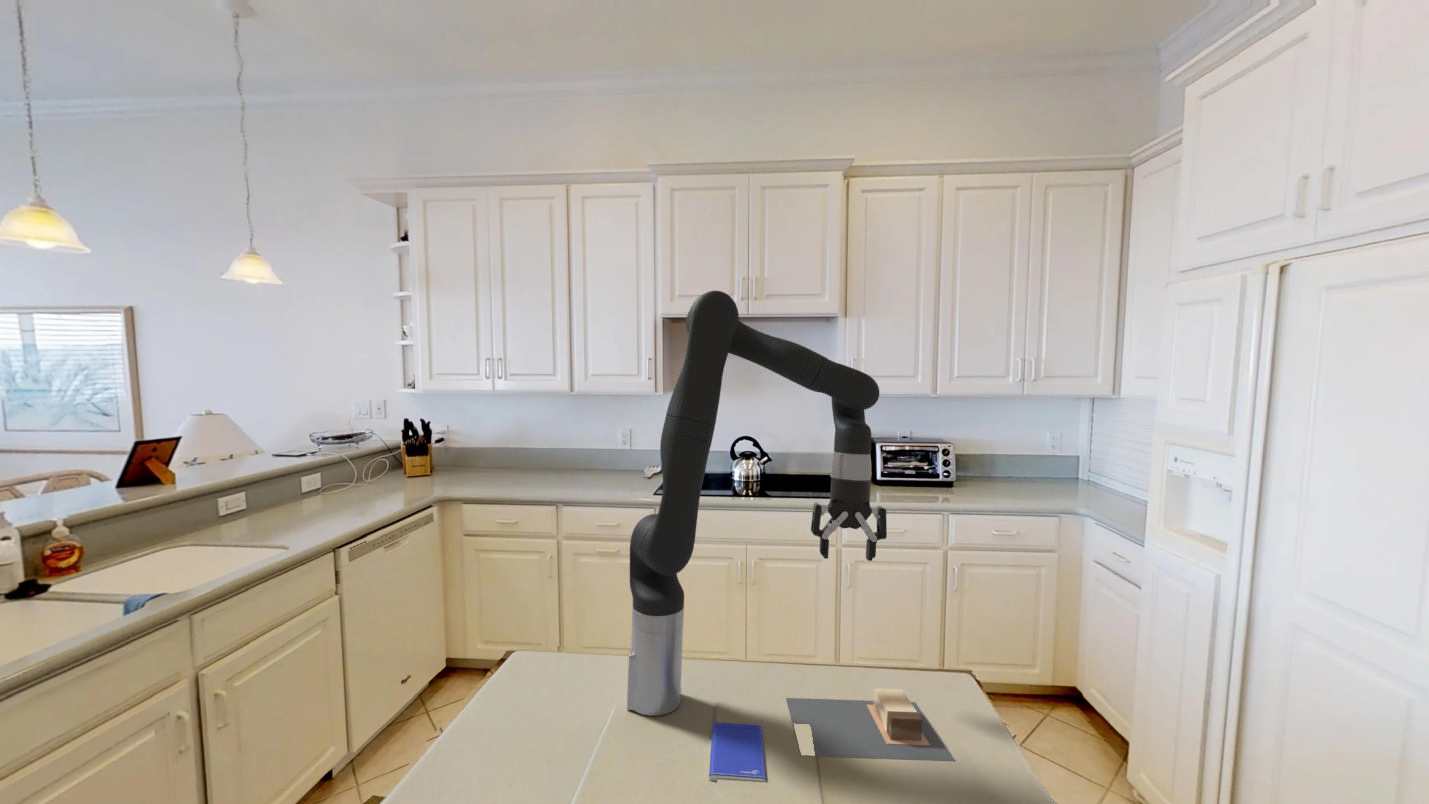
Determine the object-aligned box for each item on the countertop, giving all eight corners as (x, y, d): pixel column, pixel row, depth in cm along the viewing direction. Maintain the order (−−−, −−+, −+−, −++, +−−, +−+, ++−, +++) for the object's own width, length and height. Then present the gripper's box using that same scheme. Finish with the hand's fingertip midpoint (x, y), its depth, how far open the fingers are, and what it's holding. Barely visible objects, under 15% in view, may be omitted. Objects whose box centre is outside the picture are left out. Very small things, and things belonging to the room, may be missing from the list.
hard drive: (766, 777, 75) (761, 724, 88) (709, 772, 76) (712, 721, 88) (765, 788, 75) (761, 734, 88) (708, 783, 76) (712, 730, 88)
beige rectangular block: (873, 707, 95) (874, 688, 95) (901, 708, 95) (901, 689, 95) (890, 739, 86) (891, 718, 86) (921, 740, 86) (922, 719, 86)
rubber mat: (800, 758, 81) (800, 755, 81) (785, 700, 97) (785, 697, 97) (955, 763, 81) (955, 760, 81) (915, 704, 97) (915, 701, 97)
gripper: (881, 475, 107) (877, 555, 107) (811, 471, 107) (807, 551, 107) (893, 480, 99) (889, 566, 99) (817, 476, 100) (813, 562, 99)
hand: (847, 558), depth 103 cm, fingers open, 8 cm apart
